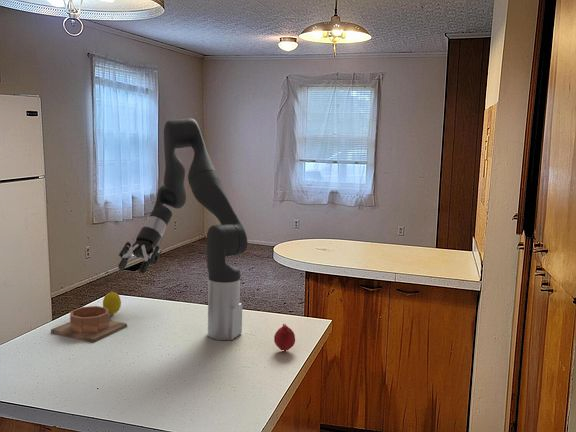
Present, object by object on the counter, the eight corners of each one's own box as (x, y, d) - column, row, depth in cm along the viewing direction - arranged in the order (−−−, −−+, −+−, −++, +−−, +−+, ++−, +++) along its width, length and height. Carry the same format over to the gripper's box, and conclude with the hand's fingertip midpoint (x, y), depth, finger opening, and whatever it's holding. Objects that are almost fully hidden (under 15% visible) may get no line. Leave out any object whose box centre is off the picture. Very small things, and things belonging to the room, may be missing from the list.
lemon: (102, 318, 166) (102, 294, 165) (103, 313, 171) (103, 289, 170) (120, 317, 168) (120, 293, 166) (121, 312, 173) (121, 288, 172)
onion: (294, 347, 148) (295, 320, 147) (295, 355, 143) (296, 327, 142) (273, 347, 148) (274, 320, 147) (273, 355, 142) (274, 327, 141)
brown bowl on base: (127, 326, 160) (127, 309, 159) (93, 342, 147) (93, 323, 146) (86, 318, 166) (86, 301, 165) (51, 332, 153) (50, 314, 152)
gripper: (130, 224, 185) (108, 262, 176) (164, 227, 179) (142, 267, 170) (140, 236, 190) (119, 274, 181) (173, 240, 185) (152, 279, 176)
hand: (130, 271), depth 176 cm, fingers open, 8 cm apart
